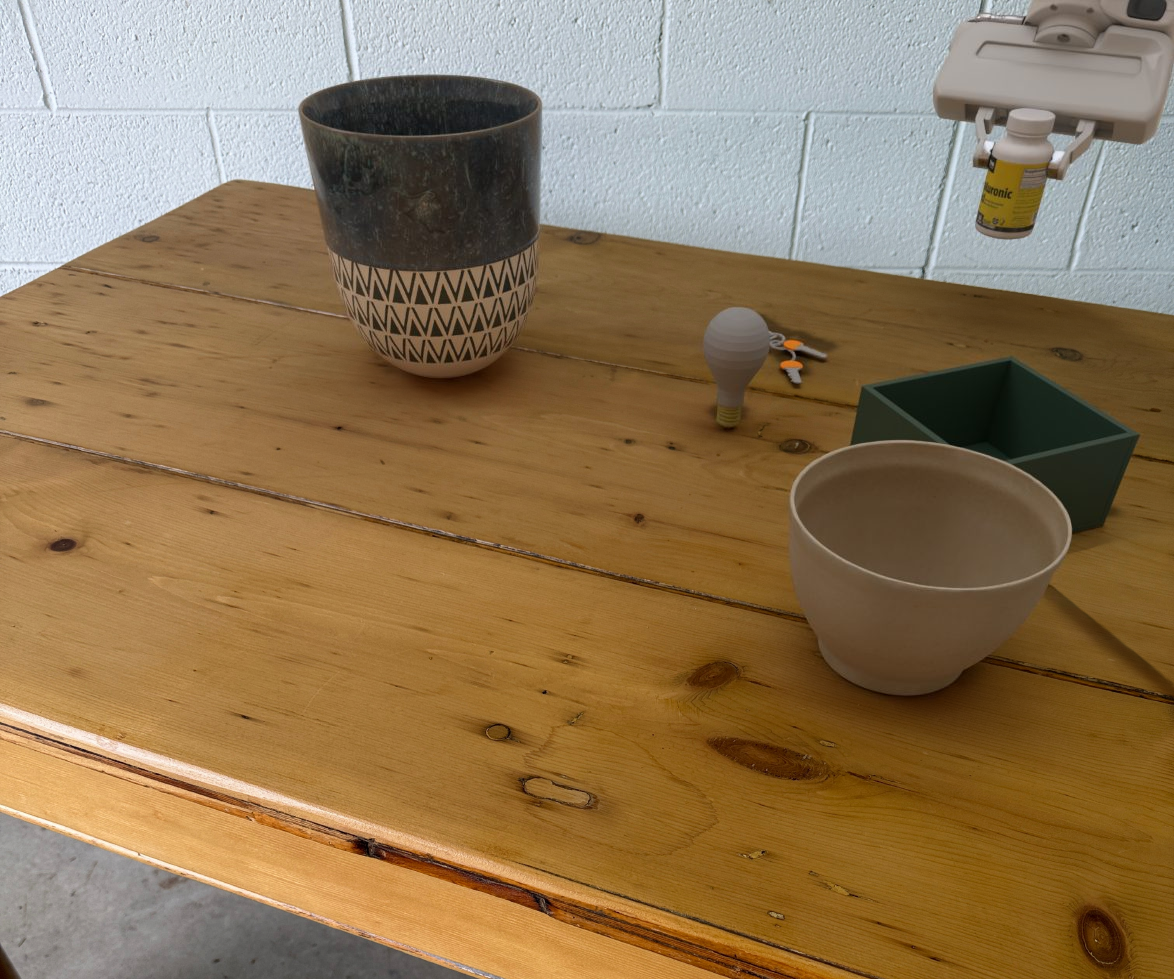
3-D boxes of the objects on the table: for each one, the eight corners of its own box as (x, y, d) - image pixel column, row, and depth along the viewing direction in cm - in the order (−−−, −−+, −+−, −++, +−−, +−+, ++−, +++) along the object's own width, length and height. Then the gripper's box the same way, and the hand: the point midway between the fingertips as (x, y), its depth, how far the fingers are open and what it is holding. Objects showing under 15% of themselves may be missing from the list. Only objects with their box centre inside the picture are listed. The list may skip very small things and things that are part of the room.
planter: (303, 393, 95) (250, 122, 80) (398, 313, 108) (367, 66, 93) (502, 427, 91) (486, 147, 76) (576, 339, 104) (575, 84, 89)
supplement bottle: (962, 225, 102) (989, 108, 95) (1011, 219, 103) (1041, 103, 96) (993, 243, 99) (1024, 123, 92) (1043, 237, 100) (1077, 118, 93)
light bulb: (763, 416, 93) (778, 300, 86) (753, 445, 89) (768, 326, 82) (702, 408, 94) (712, 292, 87) (690, 437, 90) (700, 318, 83)
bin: (986, 442, 90) (1011, 355, 84) (1103, 526, 80) (1140, 434, 75) (843, 474, 86) (861, 385, 80) (950, 565, 76) (977, 471, 71)
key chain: (702, 341, 103) (703, 332, 103) (757, 324, 107) (758, 315, 106) (793, 388, 96) (794, 379, 96) (849, 368, 99) (851, 359, 99)
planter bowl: (717, 651, 69) (734, 504, 62) (860, 556, 77) (891, 415, 70) (927, 775, 61) (977, 624, 54) (1062, 654, 69) (1123, 507, 62)
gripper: (962, -14, 96) (905, 133, 97) (1200, 6, 89) (1136, 165, 90) (963, 35, 102) (910, 174, 103) (1187, 59, 95) (1127, 207, 96)
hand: (1017, 170), depth 97 cm, fingers closed on supplement bottle, 5 cm apart
